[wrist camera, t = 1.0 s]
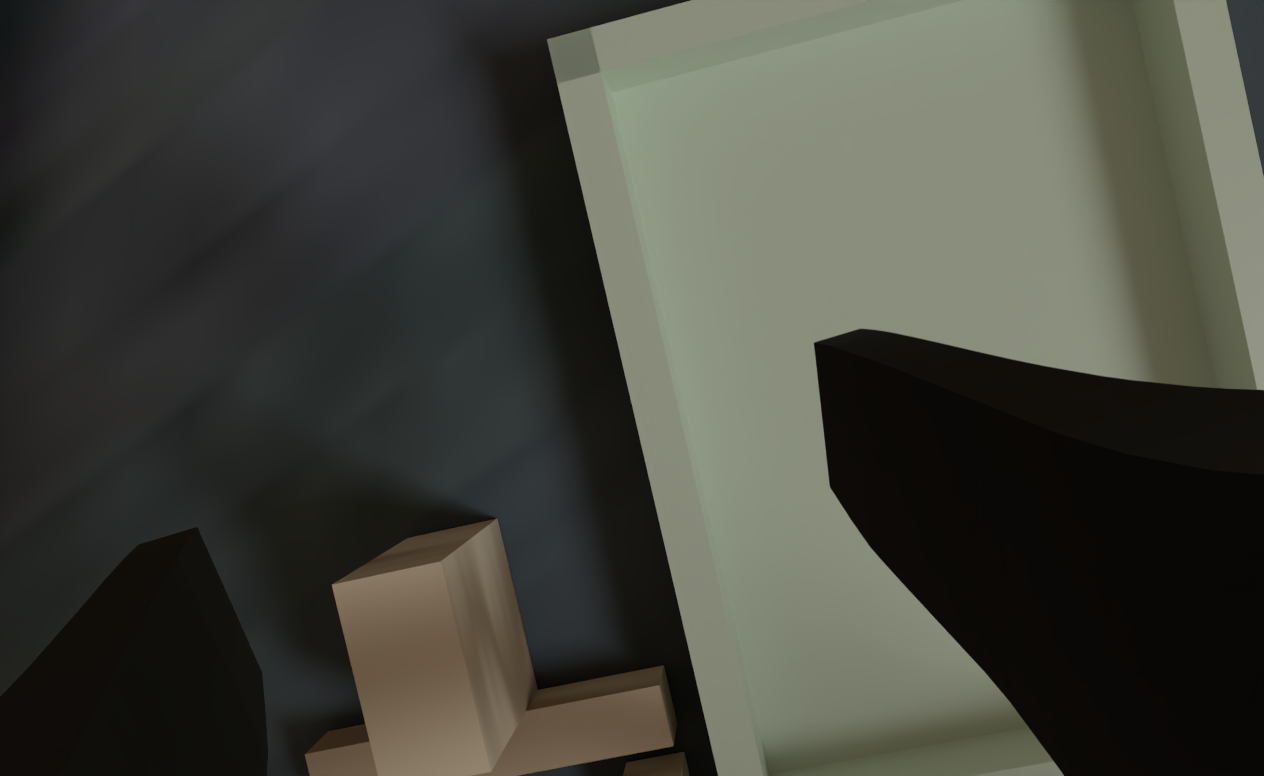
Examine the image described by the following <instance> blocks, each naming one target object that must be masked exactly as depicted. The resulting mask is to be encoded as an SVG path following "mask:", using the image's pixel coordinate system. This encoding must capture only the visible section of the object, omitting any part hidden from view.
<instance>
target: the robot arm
mask: <svg viewBox="0 0 1264 776" xmlns="http://www.w3.org/2000/svg"><path fill="white" fill-rule="evenodd" d="M814 349H815V358H816V367H817V376H818V385H819V395H820V404H821V413H822V422H823V431H824V440H825V449H826V458H827V467H828V476H829V485H830V488H831V490H832V491H833V493H834V494H835V496H836V497H837V499H838V500H839V502H840V504H841V505H842V507H843V508H844V510H845V511H846V513H847V514H848V516H849V517H850V519H851V521H852V522H853V523H854V525H855V526H856V528H857V529H858V531H859V532H860V533H861V535H862V536H863V538H864V539H865V541H866V542H867V543H868V545H869V546H870V548H871V549H872V550H873V551H874V552H875V553H876V554H877V556H878V557H879V558H880V559H881V560H882V561H883V562H884V563H885V565H886V566H887V567H888V568H889V569H890V570H891V571H892V572H893V573H894V574H895V576H896V577H897V578H898V579H899V580H900V581H901V582H902V583H903V584H904V585H905V587H906V588H907V589H908V590H909V591H910V592H911V593H912V594H913V595H914V596H915V597H916V599H917V600H918V601H919V602H920V603H921V604H922V605H923V606H924V607H925V608H926V609H927V610H928V611H929V613H930V614H931V615H932V616H933V617H934V618H935V619H936V620H937V621H938V622H939V623H940V624H941V625H942V627H943V628H944V629H945V630H946V631H947V632H948V633H949V634H950V635H951V636H952V637H953V638H954V640H955V641H956V642H957V643H958V644H959V645H960V646H961V647H962V648H963V649H964V650H965V651H966V652H967V654H968V655H969V656H970V657H971V658H972V659H973V660H974V661H975V662H976V663H977V664H978V665H979V666H980V668H981V669H982V670H983V671H984V672H985V673H986V674H987V675H988V677H989V678H990V679H991V680H992V681H993V683H994V684H995V685H996V686H997V687H998V688H999V690H1000V691H1001V692H1002V693H1003V694H1004V696H1005V697H1006V698H1007V699H1008V700H1009V702H1010V703H1011V704H1012V706H1013V707H1014V708H1015V710H1016V711H1017V712H1018V714H1019V715H1020V716H1021V718H1022V719H1023V720H1024V722H1025V723H1026V725H1027V726H1028V727H1029V729H1030V730H1031V731H1032V733H1033V734H1034V735H1035V737H1036V738H1037V739H1038V741H1039V742H1040V744H1041V745H1042V746H1043V748H1044V749H1045V750H1046V752H1047V753H1048V754H1049V756H1050V757H1051V758H1052V760H1053V761H1054V763H1055V764H1056V765H1057V767H1058V768H1059V769H1060V771H1061V772H1062V774H1063V775H1064V776H1264V390H1250V389H1225V388H1209V387H1195V386H1184V385H1175V384H1165V383H1155V382H1145V381H1135V380H1127V379H1120V378H1113V377H1105V376H1099V375H1093V374H1087V373H1082V372H1076V371H1070V370H1064V369H1059V368H1053V367H1047V366H1042V365H1037V364H1032V363H1027V362H1022V361H1018V360H1013V359H1008V358H1004V357H999V356H995V355H990V354H986V353H981V352H977V351H972V350H968V349H964V348H959V347H955V346H951V345H946V344H942V343H938V342H933V341H929V340H925V339H920V338H916V337H911V336H906V335H901V334H897V333H891V332H886V331H879V330H871V329H857V330H854V331H851V332H847V333H844V334H841V335H837V336H834V337H831V338H827V339H824V340H821V341H817V342H814ZM267 758H268V746H267V729H266V714H265V702H264V690H263V679H262V671H261V669H260V667H259V665H258V662H257V660H256V658H255V656H254V654H253V651H252V649H251V647H250V645H249V642H248V640H247V638H246V636H245V633H244V631H243V629H242V627H241V624H240V622H239V620H238V618H237V615H236V613H235V611H234V609H233V606H232V604H231V602H230V600H229V597H228V595H227V593H226V591H225V588H224V586H223V584H222V582H221V579H220V577H219V575H218V573H217V570H216V568H215V566H214V564H213V561H212V559H211V557H210V555H209V552H208V550H207V548H206V546H205V544H204V541H203V539H202V537H201V535H200V532H199V530H198V528H197V527H196V528H193V529H189V530H186V531H183V532H179V533H176V534H173V535H169V536H166V537H163V538H159V539H156V540H153V541H149V542H146V543H143V544H139V545H138V546H137V547H136V548H135V549H134V550H133V551H131V552H130V553H129V554H128V555H127V556H126V557H125V558H124V559H123V561H122V562H121V563H120V564H119V565H118V566H117V567H116V568H115V569H114V570H113V572H112V573H111V574H110V575H109V576H108V577H107V578H106V579H105V581H104V582H103V583H102V584H101V585H100V586H99V588H98V589H97V590H96V591H95V592H94V593H93V594H92V596H91V597H90V598H89V599H88V600H87V601H86V603H85V604H84V605H83V606H82V607H81V608H80V610H79V611H78V612H77V613H76V614H75V615H74V616H73V618H72V619H71V620H70V621H69V622H68V623H67V624H66V626H65V627H64V628H63V629H62V630H61V631H60V632H59V634H58V635H57V636H56V637H55V638H54V639H53V640H52V642H51V643H50V644H49V645H48V646H47V647H46V648H45V650H44V651H43V652H42V653H41V654H40V655H39V656H38V658H37V659H36V660H35V661H34V662H33V663H32V664H31V665H30V666H29V667H28V668H27V669H26V671H25V672H24V673H23V674H22V675H21V676H20V677H19V678H18V679H17V680H16V681H15V682H14V683H13V684H12V685H11V686H10V687H9V688H8V689H7V690H6V692H5V693H4V694H3V695H2V696H1V697H0V776H266V775H267Z"/></svg>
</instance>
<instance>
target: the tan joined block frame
mask: <svg viewBox="0 0 1264 776" xmlns="http://www.w3.org/2000/svg"><path fill="white" fill-rule="evenodd" d="M332 588H333V592H334V596H335V600H336V605H337V609H338V613H339V617H340V621H341V625H342V629H343V633H344V638H345V642H346V646H347V650H348V654H349V658H350V662H351V666H352V671H353V675H354V679H355V683H356V687H357V691H358V695H359V700H360V704H361V708H362V712H363V716H364V720H365V724H363V725H358V726H353V727H348V728H343V729H337V730H332V731H328V732H327V733H326V734H325V735H324V736H323V737H322V738H321V739H320V740H319V741H318V742H317V743H316V744H315V745H314V746H313V747H312V748H311V749H310V750H309V751H308V752H306V753H305V758H306V762H307V766H308V770H309V774H310V776H518V775H523V774H528V773H534V772H539V771H544V770H550V769H555V768H560V767H566V766H571V765H576V764H582V763H587V762H592V761H598V760H603V759H608V758H614V757H619V756H624V755H630V754H635V753H640V752H646V751H651V750H656V749H662V748H667V747H672V746H674V740H675V734H676V728H677V719H676V715H675V710H674V706H673V702H672V697H671V693H670V689H669V685H668V680H667V676H666V672H665V667H664V665H662V666H657V667H652V668H647V669H642V670H637V671H632V672H627V673H622V674H617V675H612V676H607V677H601V678H596V679H591V680H586V681H581V682H576V683H571V684H566V685H561V686H556V687H551V688H546V689H541V690H538V688H537V684H536V680H535V675H534V671H533V667H532V663H531V658H530V654H529V650H528V646H527V642H526V637H525V633H524V629H523V625H522V621H521V616H520V612H519V608H518V604H517V599H516V595H515V591H514V587H513V583H512V578H511V574H510V570H509V566H508V561H507V557H506V553H505V549H504V545H503V540H502V536H501V532H500V528H499V523H498V519H493V520H488V521H483V522H479V523H474V524H470V525H465V526H460V527H456V528H451V529H447V530H442V531H437V532H433V533H428V534H424V535H419V536H414V537H410V538H407V539H405V540H404V541H402V542H400V543H399V544H397V545H396V546H394V547H392V548H391V549H389V550H387V551H386V552H384V553H383V554H381V555H379V556H378V557H376V558H374V559H373V560H371V561H370V562H368V563H366V564H365V565H363V566H361V567H360V568H358V569H357V570H355V571H353V572H352V573H350V574H348V575H347V576H345V577H344V578H342V579H340V580H339V581H337V582H335V583H334V584H332ZM623 776H690V775H689V770H688V766H687V762H686V757H685V753H684V752H679V753H674V754H669V755H663V756H658V757H653V758H647V759H642V760H637V761H631V762H626V766H625V770H624V773H623Z"/></svg>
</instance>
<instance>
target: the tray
mask: <svg viewBox="0 0 1264 776" xmlns="http://www.w3.org/2000/svg"><path fill="white" fill-rule="evenodd" d="M547 42H548V46H549V51H550V55H551V59H552V63H553V68H554V72H555V76H556V81H557V85H558V89H559V94H560V98H561V102H562V106H563V111H564V115H565V119H566V124H567V128H568V132H569V137H570V141H571V145H572V149H573V154H574V158H575V162H576V167H577V171H578V175H579V180H580V184H581V188H582V192H583V197H584V201H585V205H586V210H587V214H588V218H589V223H590V227H591V231H592V235H593V240H594V244H595V248H596V253H597V257H598V261H599V265H600V270H601V274H602V278H603V283H604V287H605V291H606V296H607V300H608V304H609V308H610V313H611V317H612V321H613V326H614V330H615V334H616V339H617V343H618V347H619V351H620V356H621V360H622V364H623V369H624V373H625V377H626V382H627V386H628V390H629V394H630V399H631V403H632V407H633V412H634V416H635V420H636V425H637V429H638V433H639V437H640V442H641V446H642V450H643V455H644V459H645V463H646V468H647V472H648V476H649V480H650V485H651V489H652V493H653V498H654V502H655V506H656V511H657V515H658V519H659V523H660V528H661V532H662V536H663V541H664V545H665V549H666V554H667V558H668V562H669V566H670V571H671V575H672V579H673V584H674V588H675V592H676V597H677V601H678V605H679V609H680V614H681V618H682V622H683V627H684V631H685V635H686V640H687V644H688V648H689V652H690V657H691V661H692V665H693V670H694V674H695V678H696V683H697V687H698V691H699V695H700V700H701V704H702V708H703V713H704V717H705V721H706V726H707V730H708V734H709V738H710V743H711V747H712V751H713V756H714V760H715V764H716V769H717V773H718V776H1064V775H1063V774H1062V772H1061V771H1060V769H1059V768H1058V767H1057V765H1056V764H1055V763H1054V761H1053V760H1052V758H1051V757H1050V756H1049V754H1048V753H1047V752H1046V750H1045V749H1044V748H1043V746H1042V745H1041V744H1040V742H1039V741H1038V739H1037V738H1036V737H1035V735H1034V734H1033V733H1032V731H1031V730H1030V729H1029V727H1028V726H1027V725H1026V723H1025V722H1024V720H1023V719H1022V718H1021V716H1020V715H1019V714H1018V712H1017V711H1016V710H1015V708H1014V707H1013V706H1012V704H1011V703H1010V702H1009V700H1008V699H1007V698H1006V697H1005V696H1004V694H1003V693H1002V692H1001V691H1000V690H999V688H998V687H997V686H996V685H995V684H994V683H993V681H992V680H991V679H990V678H989V677H988V675H987V674H986V673H985V672H984V671H983V670H982V669H981V668H980V666H979V665H978V664H977V663H976V662H975V661H974V660H973V659H972V658H971V657H970V656H969V655H968V654H967V652H966V651H965V650H964V649H963V648H962V647H961V646H960V645H959V644H958V643H957V642H956V641H955V640H954V638H953V637H952V636H951V635H950V634H949V633H948V632H947V631H946V630H945V629H944V628H943V627H942V625H941V624H940V623H939V622H938V621H937V620H936V619H935V618H934V617H933V616H932V615H931V614H930V613H929V611H928V610H927V609H926V608H925V607H924V606H923V605H922V604H921V603H920V602H919V601H918V600H917V599H916V597H915V596H914V595H913V594H912V593H911V592H910V591H909V590H908V589H907V588H906V587H905V585H904V584H903V583H902V582H901V581H900V580H899V579H898V578H897V577H896V576H895V574H894V573H893V572H892V571H891V570H890V569H889V568H888V567H887V566H886V565H885V563H884V562H883V561H882V560H881V559H880V558H879V557H878V556H877V554H876V553H875V552H874V551H873V550H872V549H871V548H870V546H869V545H868V543H867V542H866V541H865V539H864V538H863V536H862V535H861V533H860V532H859V531H858V529H857V528H856V526H855V525H854V523H853V522H852V521H851V519H850V517H849V516H848V514H847V513H846V511H845V510H844V508H843V507H842V505H841V504H840V502H839V500H838V499H837V497H836V496H835V494H834V493H833V491H832V490H831V488H830V485H829V476H828V467H827V458H826V449H825V440H824V431H823V422H822V413H821V404H820V395H819V385H818V376H817V367H816V358H815V349H814V342H817V341H821V340H824V339H827V338H831V337H834V336H837V335H841V334H844V333H847V332H851V331H854V330H857V329H871V330H879V331H886V332H891V333H897V334H901V335H906V336H911V337H916V338H920V339H925V340H929V341H933V342H938V343H942V344H946V345H951V346H955V347H959V348H964V349H968V350H972V351H977V352H981V353H986V354H990V355H995V356H999V357H1004V358H1008V359H1013V360H1018V361H1022V362H1027V363H1032V364H1037V365H1042V366H1047V367H1053V368H1059V369H1064V370H1070V371H1076V372H1082V373H1087V374H1093V375H1099V376H1105V377H1113V378H1120V379H1127V380H1135V381H1145V382H1155V383H1165V384H1175V385H1184V386H1195V387H1209V388H1225V389H1250V390H1264V177H1263V172H1262V168H1261V163H1260V158H1259V154H1258V149H1257V144H1256V140H1255V135H1254V130H1253V126H1252V121H1251V116H1250V112H1249V107H1248V102H1247V98H1246V93H1245V88H1244V83H1243V79H1242V74H1241V69H1240V65H1239V60H1238V55H1237V51H1236V46H1235V41H1234V37H1233V32H1232V27H1231V23H1230V18H1229V13H1228V9H1227V4H1226V0H691V1H687V2H683V3H680V4H676V5H672V6H669V7H665V8H661V9H658V10H654V11H650V12H646V13H643V14H639V15H635V16H632V17H628V18H624V19H621V20H617V21H613V22H610V23H606V24H602V25H598V26H595V27H591V28H587V29H584V30H580V31H576V32H573V33H569V34H565V35H562V36H558V37H554V38H551V39H547Z"/></svg>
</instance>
